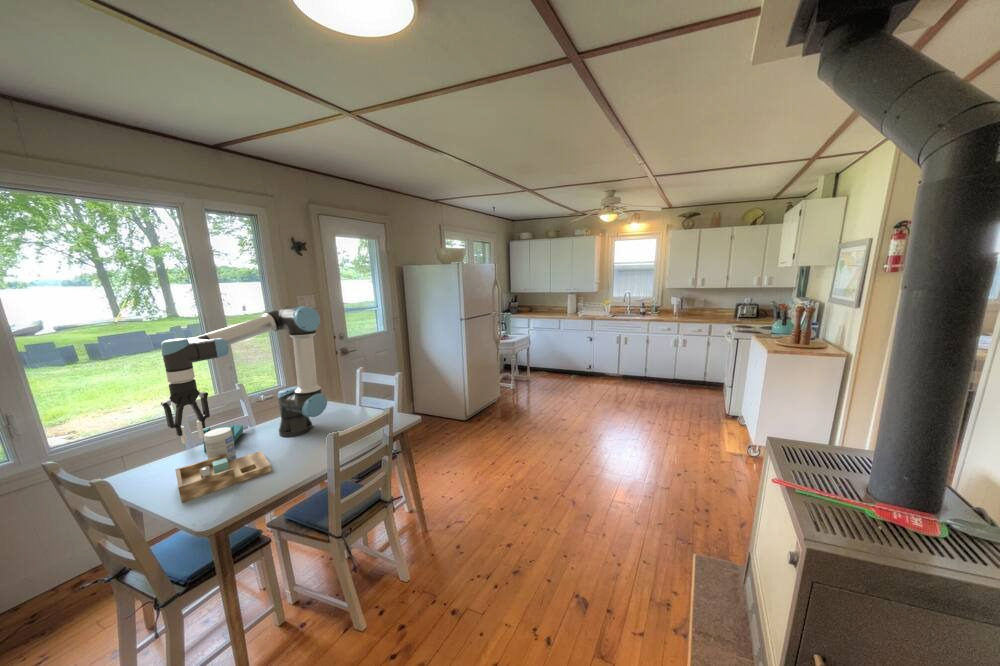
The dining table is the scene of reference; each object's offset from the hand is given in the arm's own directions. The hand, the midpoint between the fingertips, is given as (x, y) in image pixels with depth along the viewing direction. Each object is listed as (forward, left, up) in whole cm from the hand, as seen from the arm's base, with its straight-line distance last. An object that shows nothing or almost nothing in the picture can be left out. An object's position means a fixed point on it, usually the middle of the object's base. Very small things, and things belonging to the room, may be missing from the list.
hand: (193, 439), depth 135 cm
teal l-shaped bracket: (-12, -40, -19) cm, 46 cm away
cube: (-6, 0, -16) cm, 17 cm away
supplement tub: (-8, -15, -19) cm, 25 cm away
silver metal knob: (-2, +5, -16) cm, 17 cm away
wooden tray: (-8, 0, -19) cm, 20 cm away
